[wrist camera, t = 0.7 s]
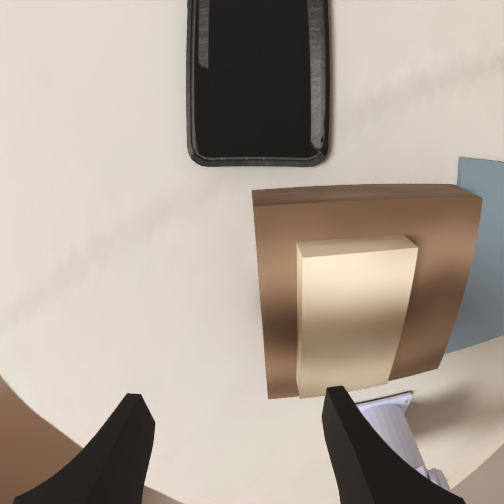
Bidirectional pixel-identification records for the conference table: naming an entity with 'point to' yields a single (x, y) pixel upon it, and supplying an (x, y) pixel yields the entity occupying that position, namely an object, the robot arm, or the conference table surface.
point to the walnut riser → (355, 226)
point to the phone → (257, 82)
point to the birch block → (351, 310)
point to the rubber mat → (483, 258)
